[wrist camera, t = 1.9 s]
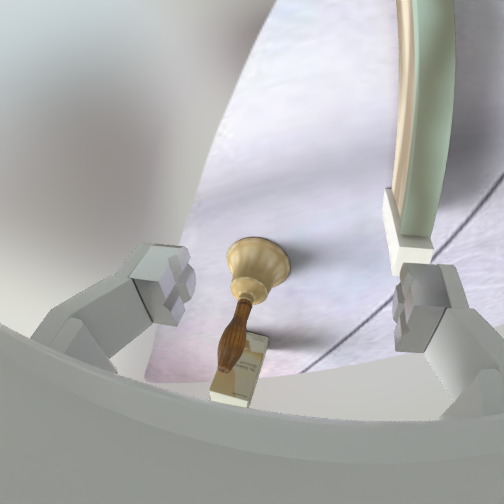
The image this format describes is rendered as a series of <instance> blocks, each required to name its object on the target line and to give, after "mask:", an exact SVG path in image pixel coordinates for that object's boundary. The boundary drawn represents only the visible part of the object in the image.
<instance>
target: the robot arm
mask: <svg viewBox="0 0 504 504" xmlns="http://www.w3.org/2000/svg"><path fill="white" fill-rule="evenodd" d="M190 258H191V257H190V254H189V251H188V249H187V248H186V247H184V246H175V245H164V244H152V243H141V244H139V245H138V246H137V247H136V248H135V250H134V251H133V252H132V254H131V255H130V256H129V257H128V258H127V260H126V261H125V262H124V264H123V265H122V266H121V267H120V269H119V270H118V272H117V273H116V274H115V275H114V276H108V277H107V278H105V279H103V280H101V281H100V282H98V283H96V284H94V285H92V286H91V287H89V288H87V289H85V290H84V291H82V292H80V293H79V294H77V295H75V296H73V297H72V298H70V299H68V300H66V301H65V302H63V303H61V304H60V305H58V306H56V307H55V308H53V309H51V310H50V312H49V313H48V314H47V316H46V317H45V318H44V320H43V321H42V322H41V324H40V325H39V327H38V328H37V329H36V331H35V332H34V334H33V335H32V336H31V338H28V337H25V336H24V335H22V334H19V333H18V332H15V331H14V330H12V329H10V328H8V327H6V326H4V325H2V324H0V504H504V339H503V338H502V337H501V336H500V335H499V333H498V332H497V331H495V329H494V328H493V327H492V326H491V325H490V324H489V323H488V322H487V321H486V320H485V319H484V318H483V317H482V316H481V315H480V314H479V313H478V312H477V311H476V310H475V309H470V308H469V305H468V302H467V299H466V295H465V292H464V289H463V286H462V284H461V281H460V278H459V275H458V272H457V269H456V267H455V266H454V265H445V264H437V265H434V264H419V263H405V262H404V263H403V265H402V267H401V270H400V281H401V282H400V283H399V284H398V285H397V286H396V289H395V293H394V298H393V319H394V321H395V322H396V323H397V325H396V328H395V331H394V337H395V351H397V352H416V353H424V356H425V357H426V359H427V361H428V362H429V364H430V365H431V367H432V368H433V370H434V371H435V373H436V375H437V376H438V378H439V379H440V381H441V383H442V384H443V386H444V387H445V389H446V391H447V392H448V394H449V395H450V397H451V399H452V400H453V402H454V403H453V404H452V405H451V406H450V407H449V408H448V409H447V410H446V411H445V412H444V413H443V414H442V415H441V416H440V417H439V420H435V421H408V422H407V421H402V422H401V421H398V422H397V421H393V422H392V421H389V422H388V421H358V420H341V419H328V418H317V417H307V416H299V415H291V414H283V413H276V412H269V411H263V410H256V409H251V408H246V407H240V406H235V405H230V404H225V403H220V402H215V401H211V400H206V399H202V398H198V397H194V396H190V395H186V394H181V393H178V392H174V391H170V390H167V389H163V388H160V387H156V386H153V385H149V384H146V383H143V382H139V381H136V380H133V379H130V378H127V377H124V376H121V375H118V374H117V373H118V372H117V369H116V367H115V366H114V365H113V364H112V362H111V361H110V358H111V357H112V356H113V355H115V354H116V353H117V352H118V351H119V350H121V349H122V348H123V347H124V346H126V345H127V344H128V343H130V342H131V341H132V340H133V339H134V338H136V337H137V336H138V335H139V334H141V333H142V332H143V331H144V330H146V329H147V328H148V327H149V326H151V325H152V323H157V324H163V325H169V326H176V327H177V326H178V324H179V322H180V320H181V318H182V316H183V314H184V312H185V308H184V303H186V302H187V301H189V300H190V299H191V298H192V296H193V294H194V291H195V285H196V276H195V272H194V269H193V268H192V267H191V266H190V265H189V264H188V261H189V260H190Z"/></svg>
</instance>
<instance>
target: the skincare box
mask: <svg viewBox="0 0 504 504" xmlns="http://www.w3.org/2000/svg"><path fill="white" fill-rule="evenodd" d="M268 339H269V338H268V337H266V336H262V335H258V334H254V333H250V332H247V336H246V343H245V347H244V350H243V353H242V355H241V357H240V359H239V360H238V361H237V363H236V364H235V365H234V367H233V368H232V370H231V371H230V373H228V374H224V373H221V372H219V371H218V369H217V371H216V374H215V377H214V379H213V382H212V384H211V387H210V389H209V397H210V400H211V401H215V402H220V403H225V404H230V405H235V406H240V407H246V408H249V406H250V403H251V399H252V396H253V393H254V390H255V387H256V383H257V380H258V377H259V374H260V370H261V367H262V364H263V360H264V357H265V354H266V350H267V346H268Z"/></svg>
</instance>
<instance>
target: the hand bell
mask: <svg viewBox="0 0 504 504" xmlns="http://www.w3.org/2000/svg"><path fill="white" fill-rule="evenodd" d="M227 264H228V267H229V269H230V271H231V273H232V274H233V278H232V283H231V292H232V294H233V296H234V297H235V298H236V299H237V300H238V303H237V307H236V310H235V314H234V317H233V319H232V321H231V322H230V324H229V325H228V326H227V327H226V329H225V330H224V332H223V334H222V337H221V339H220V342H219V346H218V368H217V369H218V371H219V372H221V373H224V374H228V373H230V371H231V370H232V368H233V367H234V365H235V364H236V363H237V361H238V360H239V359H240V357H241V355H242V353H243V350H244V347H245V343H246V336H247V332H246V323H247V320H248V317H249V314H250V311H251V309H252V305H257V304H260V303H262V302H263V301H265V299H266V298H267V296H268V294H269V292H270V290H271V288H273V287H276V286H278V285H279V284H281V283H282V282H283V281H284V280H285V279H286V278H287V277H288V275H289V272H290V262H289V259H288V257H287V255H286V253H285V252H284V251H283V250H282V249H281V248H280V247H279V246H278V245H276V244H275V243H273V242H271V241H269V240H266V239H262V238H256V237H252V238H244V239H241V240H239V241H237V242H235V243H234V244H233V245H232V246H231V247H230V249H229V250H228V253H227Z"/></svg>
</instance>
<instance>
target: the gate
mask: <svg viewBox="0 0 504 504" xmlns="http://www.w3.org/2000/svg"><path fill="white" fill-rule="evenodd" d="M396 5H397V18H398V37H399V105H398V125H397V139H396V151H395V162H394V172H393V180H392V192H393V195H394V198H395V202H396V205H397V209H398V212H399V215H400V223H399V228H400V232H401V234H406V235H417V236H429V237H431V233H432V230H433V226H434V221H435V217H436V213H437V209H438V204H439V199H440V195H441V190H442V185H443V179H444V174H445V168H446V162H447V155H448V149H449V141H450V133H451V125H452V115H453V103H454V88H455V19H454V5H453V0H396Z"/></svg>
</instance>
